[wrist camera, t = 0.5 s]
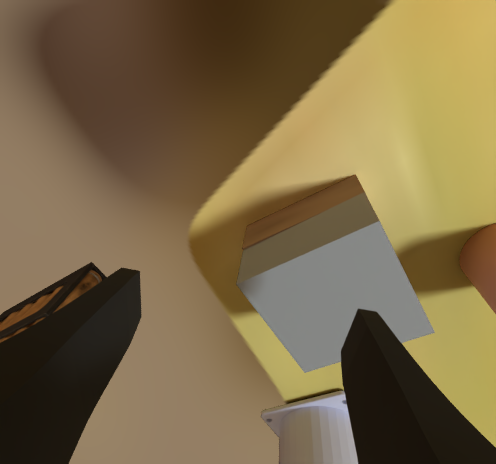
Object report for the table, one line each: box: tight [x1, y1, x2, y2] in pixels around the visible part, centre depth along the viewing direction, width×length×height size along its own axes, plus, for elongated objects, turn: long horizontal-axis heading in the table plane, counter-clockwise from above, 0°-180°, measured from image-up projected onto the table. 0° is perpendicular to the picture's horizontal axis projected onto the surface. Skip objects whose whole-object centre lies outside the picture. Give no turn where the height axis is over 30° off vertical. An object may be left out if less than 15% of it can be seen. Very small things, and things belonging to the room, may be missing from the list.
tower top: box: [236, 192, 435, 373], centre depth 17 cm, size 7×7×3 cm
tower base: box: [242, 174, 366, 250], centre depth 20 cm, size 7×7×3 cm
